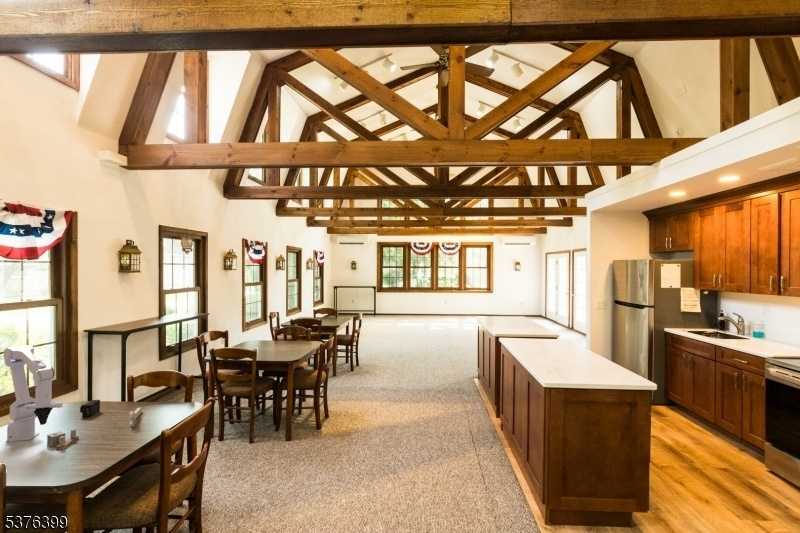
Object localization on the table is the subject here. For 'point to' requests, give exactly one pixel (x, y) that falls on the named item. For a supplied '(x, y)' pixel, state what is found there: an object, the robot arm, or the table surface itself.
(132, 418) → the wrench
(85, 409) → the digital camera
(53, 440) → the dice cube
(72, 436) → the peg rack
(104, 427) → the table surface
